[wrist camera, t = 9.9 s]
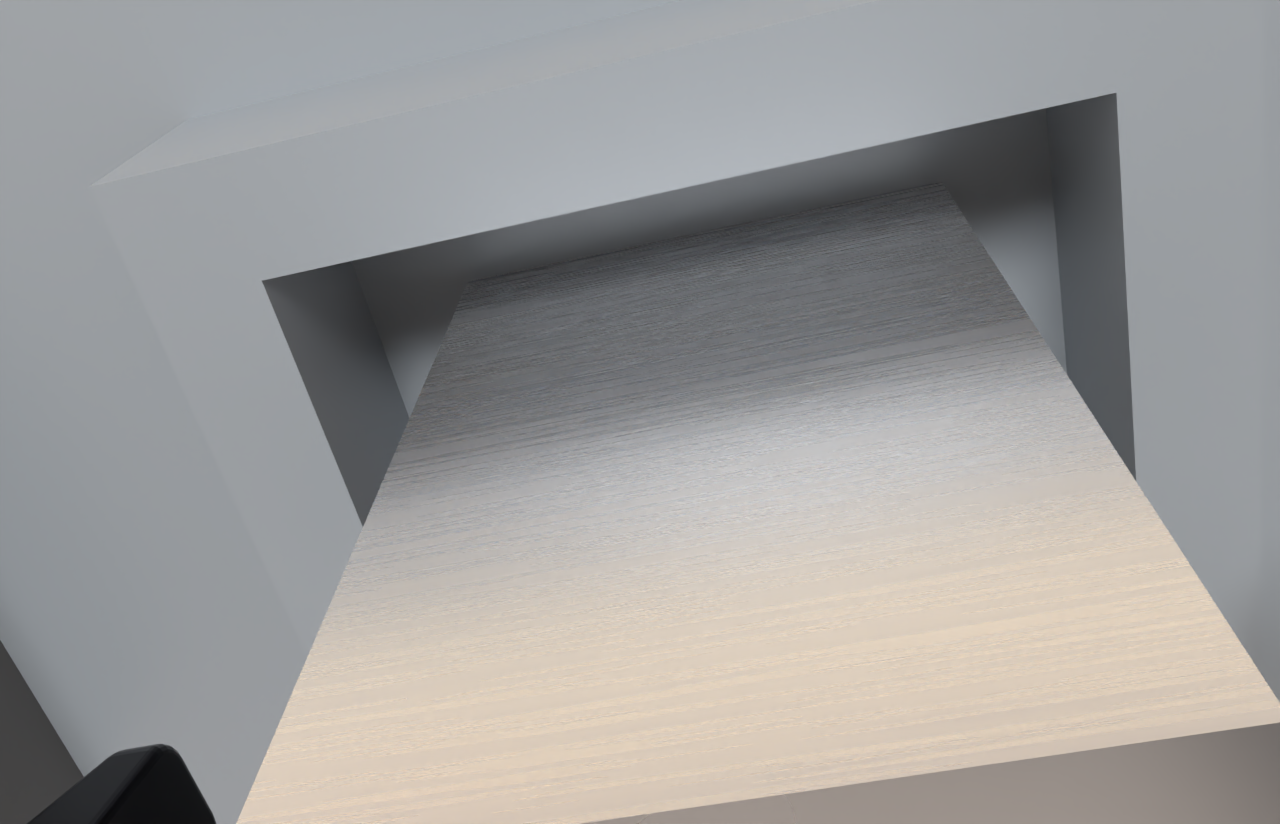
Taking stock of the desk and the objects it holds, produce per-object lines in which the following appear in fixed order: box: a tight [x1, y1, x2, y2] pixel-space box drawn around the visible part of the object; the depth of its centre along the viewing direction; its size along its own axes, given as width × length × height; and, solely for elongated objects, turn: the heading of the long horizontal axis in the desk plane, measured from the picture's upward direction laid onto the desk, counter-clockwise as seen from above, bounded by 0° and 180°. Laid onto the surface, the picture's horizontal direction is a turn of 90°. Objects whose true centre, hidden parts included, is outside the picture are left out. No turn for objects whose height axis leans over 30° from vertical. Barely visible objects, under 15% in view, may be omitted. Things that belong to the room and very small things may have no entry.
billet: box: [236, 182, 1280, 824], centre depth 9 cm, size 4×4×7 cm
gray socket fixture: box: [0, 0, 1280, 824], centre depth 12 cm, size 24×12×4 cm, turn 103°
